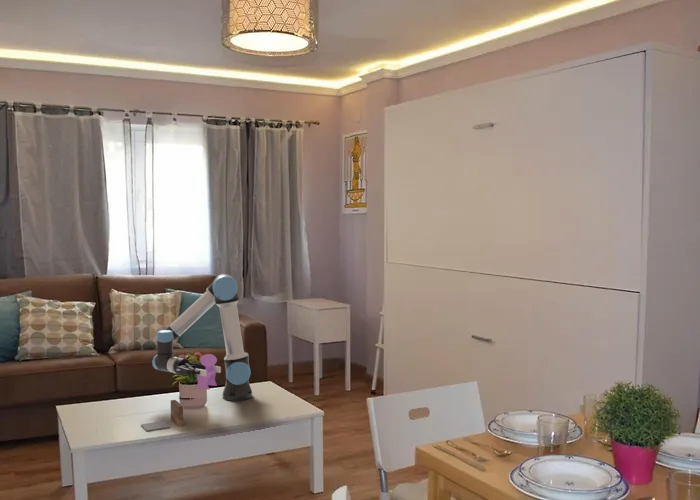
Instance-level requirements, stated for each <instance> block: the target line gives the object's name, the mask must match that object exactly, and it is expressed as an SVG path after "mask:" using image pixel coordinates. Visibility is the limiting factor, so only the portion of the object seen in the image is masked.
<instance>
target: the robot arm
mask: <svg viewBox="0 0 700 500" xmlns="http://www.w3.org/2000/svg"><path fill="white" fill-rule="evenodd" d="M238 287H239V284H238V282H237V281H236V278H235V277H234V276H233V275H231V274H228V273H221V274H219V275H217V276H216V277H215V278H214V280H213V281H212V282H211V283H210V284H209V285H208V286H207V288H206V289H205V290H206V291H204V293H203V294H202V295H200V296H199V298H197V300H195V301H194V302H193V303H192V304H191V305H190V306H189V307H188V308H186V310H185V311H183V312H182V313H181V314H180V315H179V316H178V317H177V318H176V319H175V320H174V321H173V322H172V323H171V324H170V325H168V326H167V327H166V328H165V329H162V330H161V329H160V330H158V331H157V332H156V354H155V355H154V357H152V361H151V364H152V367H153V368H154V369H155V370H157V371H162V372H168V373H173V375H175V374H177V375H187V376H192V377H195V376H197V375H200V376H207V370H205V366H204V365H202V363H201V361H200V362H198V361H197V362H195V363H194V362H191V361H190V360H189V359H188V358H184V357H179V356H174V342H176V341H177V340H178V339H179V338H180V337H181V336H182V335H183V334H184V333H185V332H186V331H187V330H188V329H189V328H190V327H191V326H192V325H194V324H195V323H196V322H197V321H198V320H199V319H200V318H201V317H202V316H203V315H205V313H207V312H208V311H209V310H210V309H211V308H212V307H213V306H214V305H216V306H217V307H218V308H219V309H218V310H219V314H220V320H221V327H222V333H223V339H224V346H225V353H226V354H225V356H224V358H223V362H224V367H225V368H224V369H225V385H224V388H223V391H222V399H223V400H225V401H246V400H249V399H252V398H253V391H252V387H251V385H250V381H249V379H250V377H251V374H252V373H251V372H252V371H251V368H250V363H249V362H250V361H249V360H250V357H249V353H248V352H245V350H244V344H243V336H242V329H241V324H240V317H239V310H238V303H239V301H240V297H239V289H238ZM212 370H214V371H216V374H217V373H218V374H220V373H221V372H222V367H221V366H218V365H215V364H214V365H213V366H212Z"/></svg>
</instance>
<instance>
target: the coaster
mask: <svg viewBox="0 0 700 500" xmlns="http://www.w3.org/2000/svg"><path fill="white" fill-rule="evenodd" d="M140 426H141V428H143V429H144V430H145V431H146V432H153V431H159V430H165V429H171V426H170V425H169V424H168V423H167V422H165V421H164V420H160V421H155V422H154V421H153V422H146V423H141V424H140Z"/></svg>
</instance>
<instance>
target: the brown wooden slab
mask: <svg viewBox="0 0 700 500" xmlns="http://www.w3.org/2000/svg"><path fill="white" fill-rule="evenodd" d="M170 421H172V422H173V423H174V424H175V425H176V426H178V427H184V405H183V404H181V402H179V401H178V400H176V399H171V400H170Z"/></svg>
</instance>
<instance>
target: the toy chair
mask: <svg viewBox="0 0 700 500" xmlns="http://www.w3.org/2000/svg"><path fill="white" fill-rule="evenodd" d="M199 361H200V363H202V365H204V366H205V370H207V376H200V375H196V379H197V385H196V386H197V387H196V389H197V390H210V388H209V386H218V385H217V382H216V375H217V372H216V371H214V370H212V366H213V365H214V366H215V365H216V364H217V362H218V358H217V357H216V356H215V355H214V354H211V353H206V354H204V355H202V356H200V359H199Z"/></svg>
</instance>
